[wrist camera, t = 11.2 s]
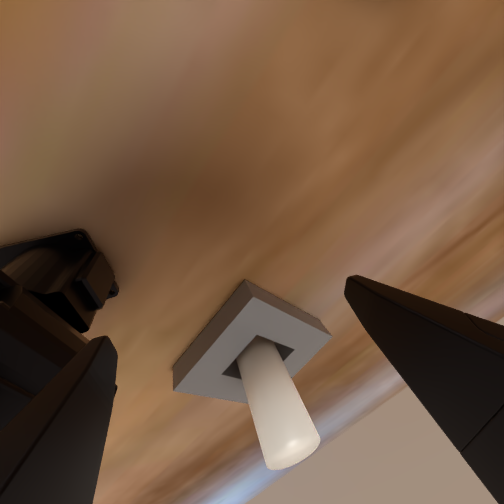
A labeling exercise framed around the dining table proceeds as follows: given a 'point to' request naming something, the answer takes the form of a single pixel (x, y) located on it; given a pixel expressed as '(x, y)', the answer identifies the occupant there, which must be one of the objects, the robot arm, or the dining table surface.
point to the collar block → (246, 343)
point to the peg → (275, 406)
